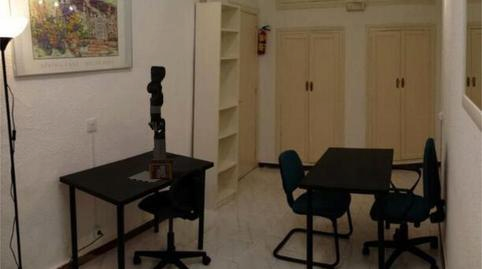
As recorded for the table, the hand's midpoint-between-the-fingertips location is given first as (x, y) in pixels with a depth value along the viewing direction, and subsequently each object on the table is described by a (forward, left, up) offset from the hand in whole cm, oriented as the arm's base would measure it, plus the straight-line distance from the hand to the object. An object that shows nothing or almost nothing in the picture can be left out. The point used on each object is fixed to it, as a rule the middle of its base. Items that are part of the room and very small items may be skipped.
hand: (156, 136), depth 338 cm
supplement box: (+2, +2, -22) cm, 22 cm away
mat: (0, -10, -28) cm, 29 cm away
